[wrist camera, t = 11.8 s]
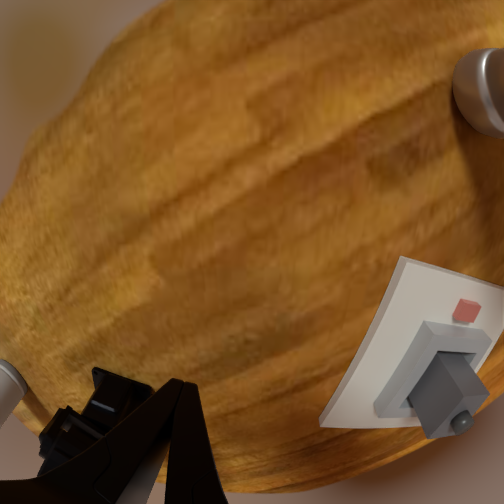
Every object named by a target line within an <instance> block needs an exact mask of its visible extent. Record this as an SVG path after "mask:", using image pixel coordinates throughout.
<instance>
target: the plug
mask: <svg viewBox="0 0 504 504" xmlns="http://www.w3.org/2000/svg"><path fill="white" fill-rule="evenodd" d="M489 395H490V393H489V392H488V390H487V389H486V387H485V386H484V385H483V383H482V382H481V380H480V379H479V377H478V376H477V375H476V373H475V372H474V370H473V369H472V368H471V366H470V365H469V363H468V362H467V361H466V359H465V358H464V357H463V355H462V354H461V353H460V352H451V351H439V350H438V351H437V353H436V354H435V356H434V358H433V359H432V361H431V362H430V364H429V366H428V367H427V369H426V370H425V372H424V373H423V375H422V376H421V378H420V379H419V381H418V382H417V384H416V385H415V386H414V388H413V389H412V391H411V392H410V393H409V395H408V396H409V399H410V401H411V403H412V405H413V407H414V410H415V412H416V414H417V416H418V419H419V421H420V423H421V426H422V428H423V430H424V433H425V435H426V437H427V439H432V438H439V437H445V436H451V435H461V434H463V433H464V432H466V431H467V430H469V429H470V428H471V427H472V426H473V424H474V420H473V418H472V416H473V414H474V413H475V412H476V411H477V410H478V408H479V407H480V406H481V405H482V403H483V402H484V401H485V400H486V398H487V397H488V396H489Z"/></svg>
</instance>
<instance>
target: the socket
mask: <svg viewBox="0 0 504 504" xmlns="http://www.w3.org/2000/svg"><path fill="white" fill-rule="evenodd" d="M503 329H504V287H502V286H499V285H496V284H493V283H490V282H487V281H483V280H480V279H477V278H474V277H471V276H467V275H464V274H461V273H458V272H454V271H451V270H448V269H444V268H441V267H438V266H434V265H431V264H427V263H424V262H420V261H417V260H413V259H410V258H406V257H403V256H400V258H399V260H398V263H397V265H396V268H395V270H394V273H393V275H392V278H391V280H390V283H389V285H388V288H387V290H386V292H385V295H384V297H383V299H382V301H381V304H380V306H379V308H378V310H377V312H376V315H375V317H374V319H373V321H372V323H371V325H370V327H369V329H368V331H367V333H366V335H365V337H364V339H363V341H362V343H361V345H360V347H359V349H358V351H357V353H356V355H355V357H354V359H353V361H352V362H351V364H350V366H349V368H348V370H347V372H346V373H345V375H344V377H343V379H342V380H341V382H340V384H339V386H338V387H337V389H336V391H335V392H334V394H333V396H332V397H331V399H330V401H329V402H328V404H327V406H326V407H325V409H324V410H323V412H322V413H321V415H320V417H319V424H320V427H331V428H395V427H411V426H421V423H420V421H419V419H418V416H417V414H416V412H415V410H414V407H413V405H412V403H411V401H410V399H409V396H408V395H409V393H410V392H411V391H412V389H413V388H414V386H415V385H416V384H417V382H418V381H419V379H420V378H421V376H422V375H423V373H424V372H425V370H426V369H427V367H428V366H429V364H430V362H431V361H432V359H433V358H434V356H435V354H436V353H437V351H438V350H439V351H451V352H460V353H461V354H462V355H463V357H464V358H465V359H466V361H467V362H468V363H469V365H470V366H471V368H472V369H473V370H474V372H475V373H477V372H478V370H479V369H480V367H481V366H482V364H483V363H484V361H485V360H486V358H487V356H488V355H489V353H490V352H491V350H492V348H493V347H494V345H495V343H496V342H497V340H498V338H499V336H500V335H501V333H502V331H503Z"/></svg>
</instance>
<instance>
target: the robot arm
mask: <svg viewBox="0 0 504 504" xmlns="http://www.w3.org/2000/svg"><path fill="white" fill-rule="evenodd" d="M92 376H93V381H94V386H95V391H94V392H93V394H92V396H91V397H90V399H89V401H88V403H87V404H86V406H85V408H84V409H83V411H82V413H81V415H80V414H79V413H77V412H76V411H74V410H73V408H71V407H70V406H69V405H68V406H67V407H66V409H62V408H59V409H58V411H57V412H56V414H55V415H54V417H53V418H52V420H51V421H50V422H49V423H48V425H47V426H46V427H45V428H44V429H43V431H42V432H41V433H40V435H39V440H40V444H41V445H40V452H39V456H40V457H42V458H43V459H44V462H43V464H42V466H41V468H40V470H39V472H38V475H37V477H36V478H31V479H24V480H0V504H146V502H147V500H148V498H149V495H150V493H151V490H152V488H153V485H154V483H155V480H156V478H157V475H158V473H159V471H160V468H161V466H162V463H163V461H164V458H165V456H166V453H167V451H168V448H169V446H170V450H169V459H168V468H167V479H166V491H165V503H164V504H228V501H227V499H226V497H225V494H224V491H223V488H222V485H221V482H220V479H219V476H218V472H217V469H216V465H215V461H214V457H213V453H212V449H211V445H210V441H209V437H208V433H207V428H206V424H205V419H204V415H203V410H202V406H201V401H200V396H199V391H198V386H197V384H195V383H191V382H184V381H183V380H179V379H175V378H172V379H170V380H169V381H168V382H167V383H166V384H164V385H163V386H162V387H161V388H160V389H159V390H158V391H156V392H155V393H154V394H153V395H152V393H151V387H150V386H148V385H145V384H142V383H139V382H136V381H133V380H130V379H127V378H124V377H122V376H119V375H116V374H113V373H111V372H108V371H105V370H103V369H100V368H97V367H94V368H93V369H92ZM63 429H65V430H66V431H68V432H66V431H65V430H63Z"/></svg>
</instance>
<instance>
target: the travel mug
mask: <svg viewBox="0 0 504 504" xmlns="http://www.w3.org/2000/svg"><path fill="white" fill-rule="evenodd" d="M26 392H27V386H26V383H25V381H24V379H23V378H22V376H21V375H20V374H19V372H18V371H17V370H16V369H15V368H14V367H13V366H12V365H11V364H9V363H8V362H6V361H4V360H0V428H1V426H2V425H3V424H4V422H5V421H6V420H7V418H8V416H9V415H10V414H11V413H12V411H13V410H14V408H15V407H16V406H17V404H18V403H19V402H20V400H21V399H22V397H23V396H24V395H25V394H26Z"/></svg>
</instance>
